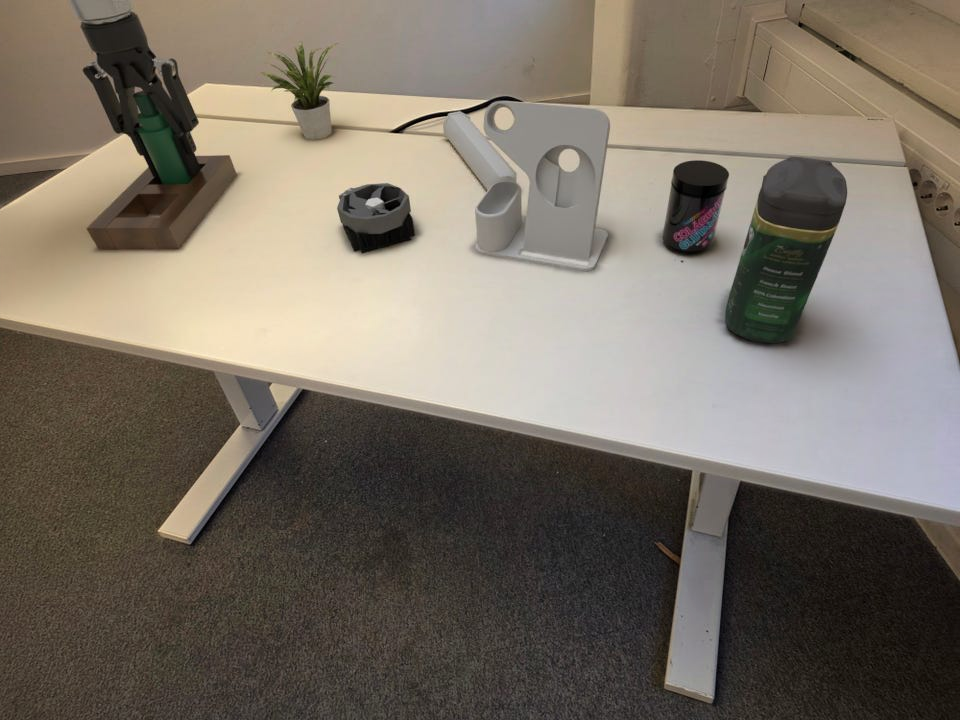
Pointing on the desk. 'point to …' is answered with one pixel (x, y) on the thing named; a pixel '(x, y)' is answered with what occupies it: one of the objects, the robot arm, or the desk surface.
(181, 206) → the bottle holder
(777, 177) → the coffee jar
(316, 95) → the house plant
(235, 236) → the desk surface
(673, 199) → the supplement container
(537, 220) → the phone holder
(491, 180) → the tube
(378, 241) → the cpu cooler
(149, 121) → the bottle
